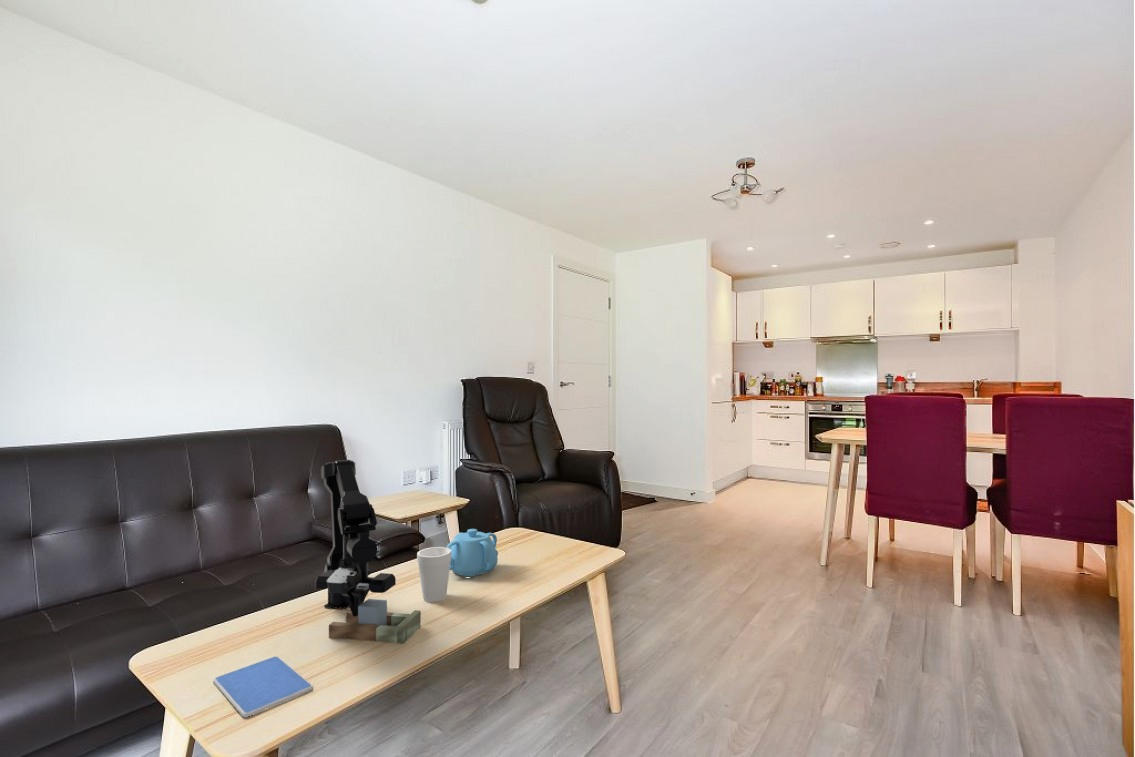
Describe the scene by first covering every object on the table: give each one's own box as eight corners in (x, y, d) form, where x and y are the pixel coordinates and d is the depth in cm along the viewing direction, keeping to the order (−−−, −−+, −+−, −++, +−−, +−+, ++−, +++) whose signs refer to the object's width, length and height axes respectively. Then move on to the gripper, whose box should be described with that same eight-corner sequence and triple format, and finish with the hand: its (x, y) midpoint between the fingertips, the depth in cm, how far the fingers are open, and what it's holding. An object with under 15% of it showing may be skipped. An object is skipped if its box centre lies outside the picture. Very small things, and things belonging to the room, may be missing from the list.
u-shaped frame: (328, 637, 126) (328, 620, 126) (350, 621, 135) (350, 605, 135) (403, 643, 123) (403, 626, 123) (420, 626, 131) (420, 610, 131)
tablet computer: (211, 683, 108) (211, 677, 108) (277, 659, 117) (277, 653, 117) (243, 722, 95) (243, 715, 95) (314, 691, 104) (314, 685, 104)
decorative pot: (438, 579, 164) (438, 536, 164) (457, 562, 180) (457, 522, 180) (488, 582, 161) (488, 538, 161) (503, 564, 177) (503, 524, 177)
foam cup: (415, 594, 152) (415, 549, 152) (447, 589, 155) (447, 545, 156) (420, 607, 143) (419, 559, 143) (454, 601, 147) (453, 554, 147)
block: (358, 635, 127) (358, 606, 127) (368, 626, 131) (368, 598, 132) (377, 636, 126) (377, 607, 126) (387, 628, 131) (386, 600, 131)
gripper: (299, 561, 124) (299, 627, 123) (371, 565, 120) (372, 634, 120) (329, 546, 135) (329, 608, 134) (396, 550, 131) (396, 613, 131)
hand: (355, 615), depth 130 cm, fingers closed
